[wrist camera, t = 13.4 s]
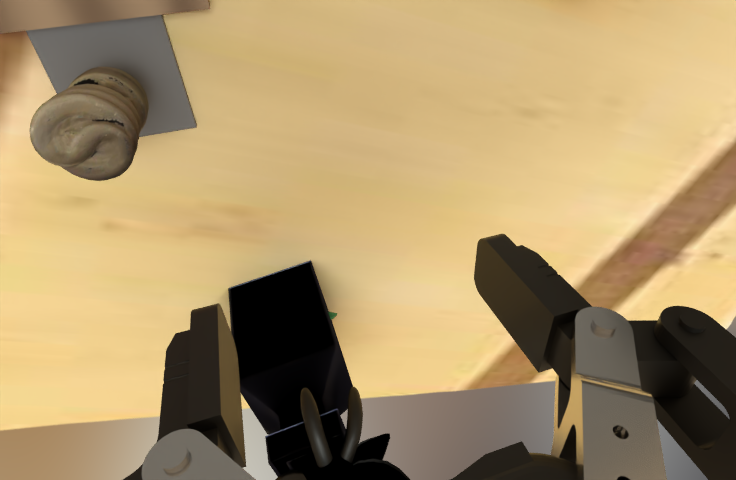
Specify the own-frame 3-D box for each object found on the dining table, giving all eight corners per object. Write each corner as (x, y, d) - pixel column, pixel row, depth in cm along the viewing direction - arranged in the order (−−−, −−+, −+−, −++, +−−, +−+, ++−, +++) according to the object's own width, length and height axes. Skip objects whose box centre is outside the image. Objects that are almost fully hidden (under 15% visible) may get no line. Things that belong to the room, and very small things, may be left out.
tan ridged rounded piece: (67, 83, 36) (3, 157, 25) (103, 31, 35) (52, 82, 23) (133, 125, 40) (104, 207, 28) (168, 79, 38) (152, 144, 27)
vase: (330, 245, 55) (455, 557, 28) (349, 306, 62) (462, 602, 35) (219, 282, 53) (234, 655, 26) (251, 341, 60) (289, 682, 33)
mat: (160, 9, 36) (159, 10, 35) (196, 125, 42) (196, 127, 41) (26, 25, 34) (23, 26, 33) (84, 144, 40) (83, 146, 39)
